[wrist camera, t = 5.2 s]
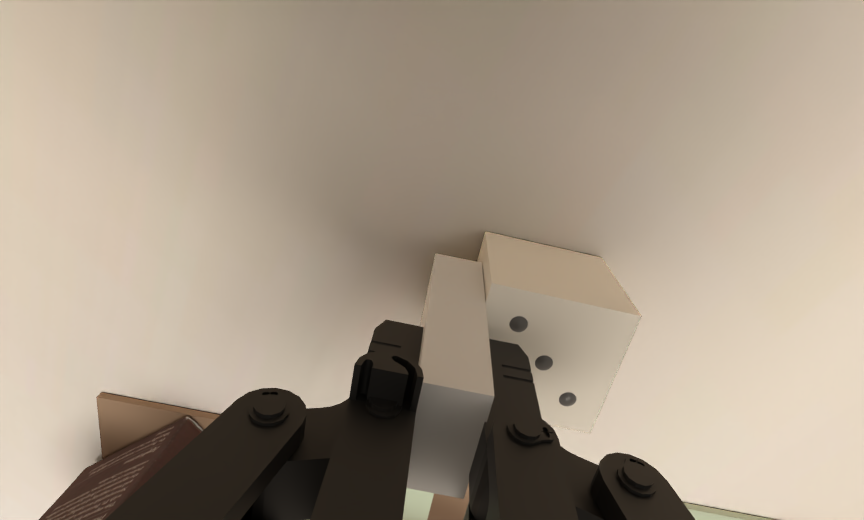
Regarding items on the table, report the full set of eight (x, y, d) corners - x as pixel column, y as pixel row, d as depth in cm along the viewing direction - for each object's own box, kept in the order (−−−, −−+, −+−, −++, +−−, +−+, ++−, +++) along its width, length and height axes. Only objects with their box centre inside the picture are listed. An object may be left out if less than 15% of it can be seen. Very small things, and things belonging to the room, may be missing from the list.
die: (485, 231, 16) (491, 284, 13) (602, 257, 17) (642, 318, 13) (457, 332, 18) (456, 407, 14) (564, 356, 18) (590, 436, 14)
